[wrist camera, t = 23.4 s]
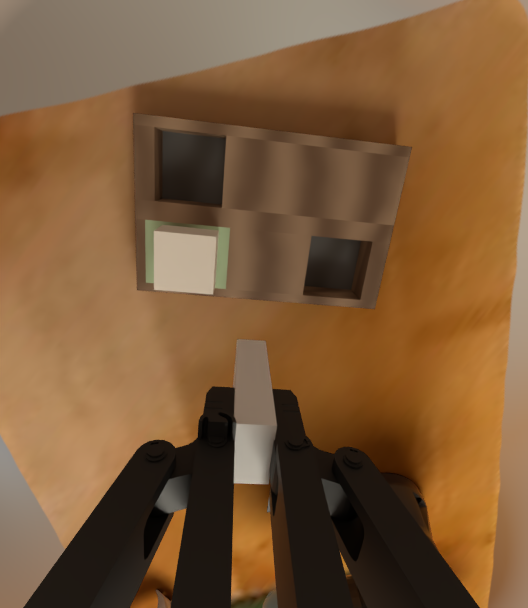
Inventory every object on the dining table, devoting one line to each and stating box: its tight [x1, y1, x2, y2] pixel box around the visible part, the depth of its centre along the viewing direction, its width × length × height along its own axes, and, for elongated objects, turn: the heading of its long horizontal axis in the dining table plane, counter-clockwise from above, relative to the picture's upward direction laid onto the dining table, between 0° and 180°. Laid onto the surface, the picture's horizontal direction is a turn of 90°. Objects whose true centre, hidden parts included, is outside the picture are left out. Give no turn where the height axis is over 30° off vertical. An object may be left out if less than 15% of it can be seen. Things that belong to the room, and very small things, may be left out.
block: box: [154, 225, 219, 295], centre depth 37 cm, size 6×6×4 cm
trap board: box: [133, 113, 412, 309], centre depth 40 cm, size 28×18×4 cm, turn 84°
